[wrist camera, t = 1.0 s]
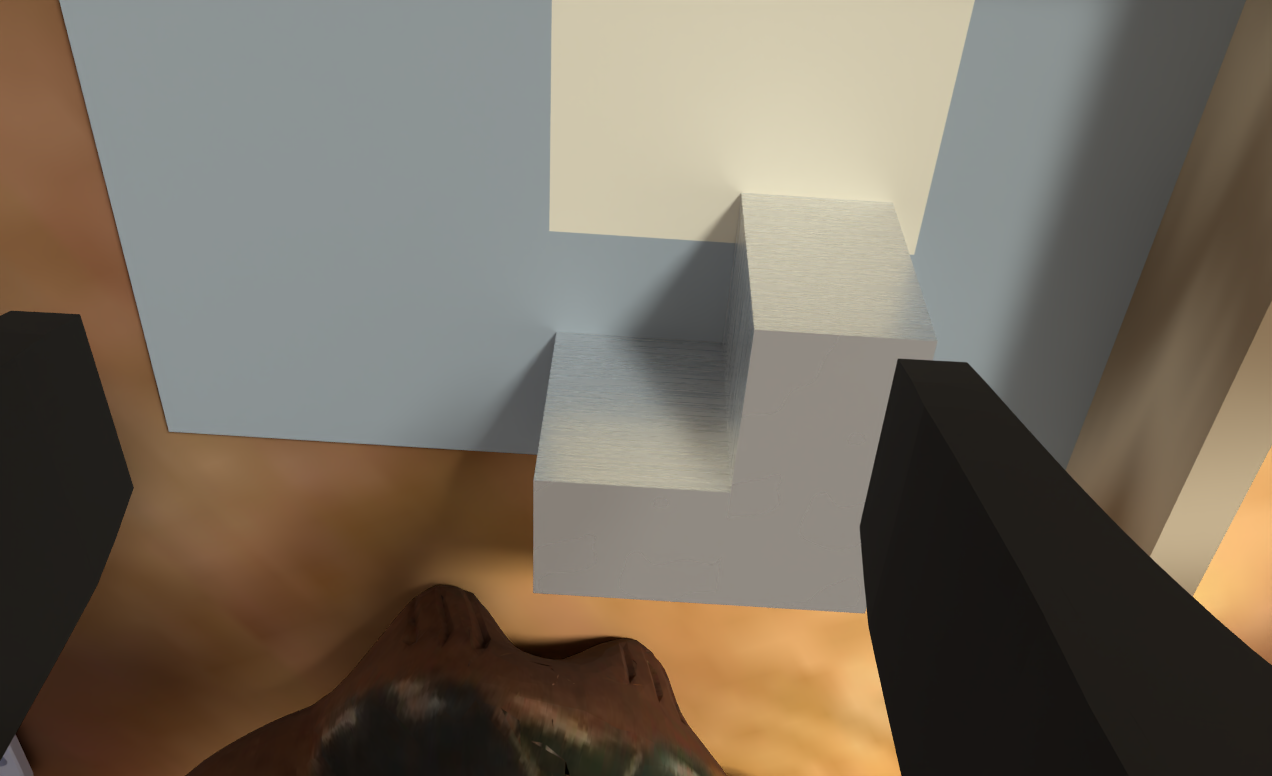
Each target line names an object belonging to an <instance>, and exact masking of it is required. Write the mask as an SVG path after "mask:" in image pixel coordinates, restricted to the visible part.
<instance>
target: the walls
mask: <svg viewBox="0 0 1272 776" xmlns="http://www.w3.org/2000/svg"><path fill="white" fill-rule="evenodd" d="M1271 446H1272V0H1246V2H1245V5H1244V7H1243V10H1242V12H1241V15H1240V18H1239V20H1238V23H1237V25H1236V28H1235V31H1234V33H1233V36H1232V38H1231V41H1230V44H1229V46H1228V49H1227V51H1226V54H1225V57H1224V59H1223V62H1222V64H1221V67H1220V70H1219V72H1218V75H1217V77H1216V80H1215V83H1214V85H1213V88H1212V90H1211V93H1210V96H1209V98H1208V101H1207V103H1206V106H1205V109H1204V111H1203V114H1202V116H1201V119H1200V122H1199V124H1198V127H1197V129H1196V132H1195V135H1194V137H1193V140H1192V142H1191V145H1190V148H1189V150H1188V153H1187V155H1186V158H1185V161H1184V163H1183V166H1182V168H1181V171H1180V174H1179V176H1178V179H1177V181H1176V184H1175V187H1174V189H1173V192H1172V194H1171V197H1170V200H1169V202H1168V205H1167V207H1166V210H1165V213H1164V215H1163V218H1162V220H1161V223H1160V226H1159V228H1158V231H1157V233H1156V236H1155V239H1154V241H1153V244H1152V246H1151V249H1150V252H1149V254H1148V257H1147V259H1146V262H1145V265H1144V267H1143V270H1142V272H1141V275H1140V278H1139V280H1138V283H1137V285H1136V288H1135V291H1134V293H1133V296H1132V298H1131V301H1130V304H1129V306H1128V309H1127V311H1126V314H1125V317H1124V319H1123V322H1122V324H1121V327H1120V330H1119V332H1118V335H1117V337H1116V340H1115V343H1114V345H1113V348H1112V350H1111V353H1110V356H1109V358H1108V361H1107V363H1106V366H1105V369H1104V371H1103V374H1102V377H1101V379H1100V382H1099V384H1098V387H1097V390H1096V392H1095V395H1094V397H1093V400H1092V403H1091V405H1090V408H1089V410H1088V413H1087V416H1086V418H1085V421H1084V423H1083V426H1082V429H1081V431H1080V434H1079V436H1078V439H1077V442H1076V444H1075V447H1074V449H1073V452H1072V455H1071V457H1070V460H1069V462H1068V465H1067V468H1066V471H1067V473H1068V474H1069V475H1070V476H1071V477H1072V478H1073V479H1074V480H1075V481H1076V482H1077V483H1078V484H1079V485H1080V486H1081V487H1082V489H1083V490H1084V491H1085V492H1086V493H1087V494H1088V495H1089V496H1090V497H1091V498H1092V499H1093V500H1094V501H1095V502H1096V503H1097V504H1098V505H1099V506H1100V507H1101V508H1102V509H1103V510H1104V511H1105V512H1106V514H1107V515H1108V516H1109V517H1110V518H1111V519H1112V520H1113V521H1114V522H1115V523H1116V524H1117V525H1118V526H1119V527H1120V528H1121V529H1122V530H1123V531H1124V532H1125V533H1126V534H1127V535H1128V536H1129V537H1130V538H1131V539H1132V540H1133V541H1134V542H1135V543H1136V544H1137V545H1138V546H1139V547H1140V548H1141V549H1142V550H1144V551H1145V552H1146V553H1147V554H1148V555H1149V556H1150V557H1151V558H1152V559H1153V560H1154V561H1155V562H1156V563H1157V564H1158V565H1159V566H1160V567H1161V568H1162V569H1163V570H1164V571H1166V572H1167V573H1168V574H1169V575H1170V576H1171V577H1172V578H1173V579H1174V580H1175V581H1176V582H1177V583H1178V584H1180V585H1181V586H1182V587H1183V588H1184V589H1185V590H1186V591H1187V592H1188V593H1189V594H1190V595H1191V596H1192V597H1193V595H1194V593H1195V591H1196V589H1197V587H1198V585H1199V583H1200V581H1201V579H1202V578H1203V576H1204V574H1205V572H1206V570H1207V568H1208V566H1209V564H1210V562H1211V560H1212V558H1213V557H1214V555H1215V553H1216V551H1217V549H1218V547H1219V545H1220V543H1221V541H1222V539H1223V537H1224V536H1225V534H1226V532H1227V530H1228V528H1229V526H1230V524H1231V522H1232V520H1233V518H1234V516H1235V515H1236V513H1237V511H1238V509H1239V507H1240V505H1241V503H1242V501H1243V499H1244V497H1245V495H1246V494H1247V492H1248V490H1249V488H1250V486H1251V484H1252V482H1253V480H1254V478H1255V476H1256V474H1257V473H1258V471H1259V469H1260V467H1261V465H1262V463H1263V461H1264V459H1265V457H1266V455H1267V453H1268V452H1269V450H1270V448H1271Z"/></svg>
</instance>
